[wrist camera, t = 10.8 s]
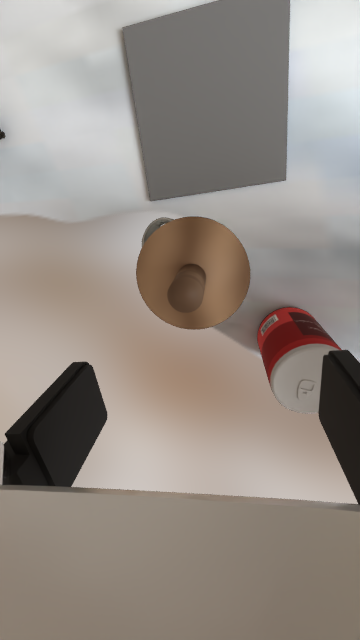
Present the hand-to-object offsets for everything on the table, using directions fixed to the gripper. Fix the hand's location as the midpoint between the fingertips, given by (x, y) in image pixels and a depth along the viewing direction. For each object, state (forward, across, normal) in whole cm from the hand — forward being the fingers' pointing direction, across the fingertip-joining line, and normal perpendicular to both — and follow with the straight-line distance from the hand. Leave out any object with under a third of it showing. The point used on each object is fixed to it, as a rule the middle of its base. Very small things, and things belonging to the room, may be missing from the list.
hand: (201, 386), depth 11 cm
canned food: (+25, -9, +10) cm, 28 cm away
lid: (+17, +2, -1) cm, 17 cm away
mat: (+24, -1, -16) cm, 29 cm away
